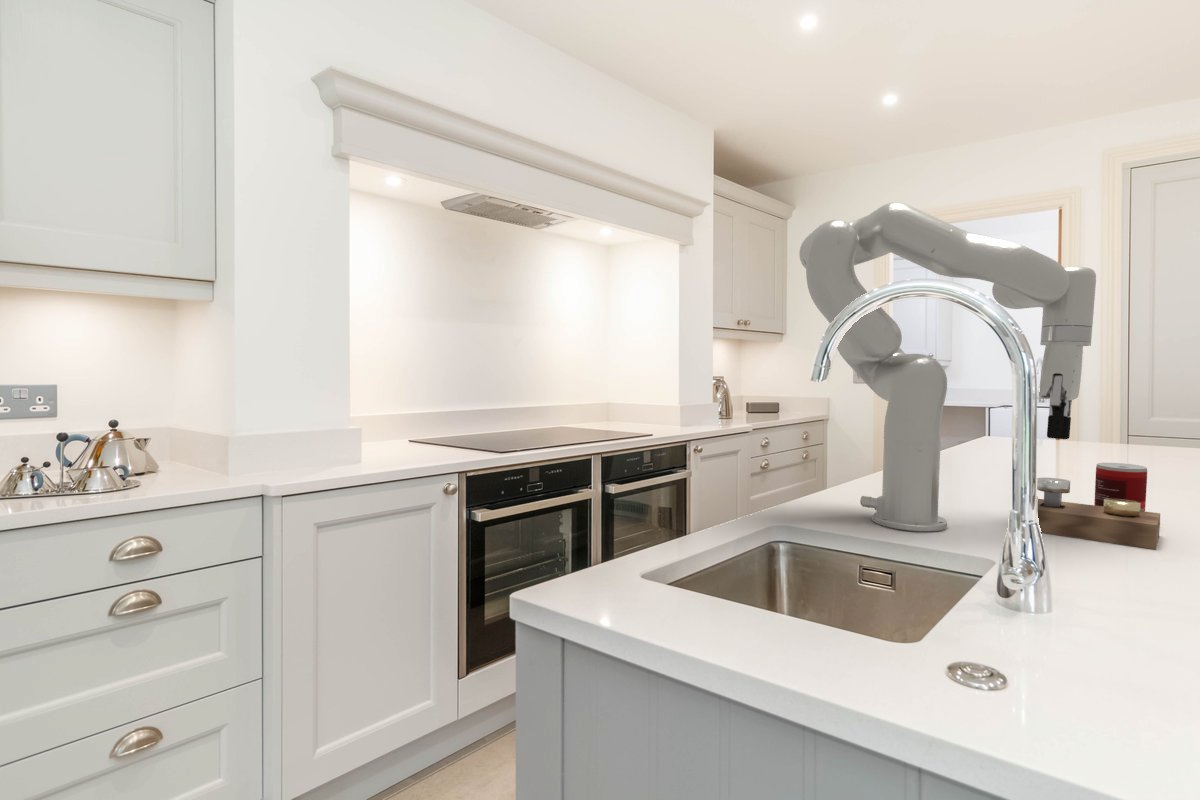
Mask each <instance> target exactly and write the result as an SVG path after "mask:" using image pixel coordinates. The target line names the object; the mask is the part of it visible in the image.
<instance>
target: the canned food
mask: <svg viewBox="0 0 1200 800" xmlns="http://www.w3.org/2000/svg"><path fill="white" fill-rule="evenodd" d="M1094 483H1095V484H1094V485H1095V486H1094V503H1093V505H1095V506H1103V507H1104V499H1108V498H1113V499H1125V500H1132V501H1136V502H1139V503H1140V511H1145V512H1146V504H1147V503H1146V501H1147V486H1148V485H1147V484H1148V467H1147V466H1143V465H1139V464H1132V463H1123V462H1122V463H1121V462H1098V463H1096V467H1095V482H1094Z"/></svg>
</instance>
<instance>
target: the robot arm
mask: <svg viewBox="0 0 1200 800" xmlns="http://www.w3.org/2000/svg"><path fill="white" fill-rule="evenodd" d="M891 253H892V255H893V254H894V255H896V256H898V257H900V258H903V259H905V260H906V261H910V262H911V263H913V264H916V265H918V266H919V267H921V268H923V269H926V270H929V271H930V272H932V273H934V274H937V275H939V276H943V277H950V278H956V279H957V278H959V279H974V280H981V281H984V282H985V281H986V282H988V283H993V285H992V289H991V290H992V291H991V292H992V296H993V299H994V300H995V301H996V302H997V303H998V304H999V305H1000V306H1003V308H1004V307H1005V308H1007V309H1012V310H1022V309H1032V308H1033V309H1034V308H1041V309H1042V320H1041V332H1040V333H1041V334H1040V346H1045V347H1044V351H1043V352H1044V353H1043V357H1042V364H1041V370H1040V371H1041V372H1040V381H1039V388H1040V392H1039V391H1038V397H1039V398H1041V399H1044V400H1046V399H1049V406H1048V407H1049V408H1048V410H1049V411H1048V412H1049V413H1048V416H1047V417H1048V418H1047V427H1046V428H1047V429H1046V437H1047V439H1058V440H1068V439H1070V436H1071V425H1072V423H1071V422H1072V417H1071V412H1072V403H1073V401H1074V400H1076V399H1078V397H1079V394H1080V388H1081V381H1082V379H1081V377H1082V370H1083V369H1082V368H1083V354H1084V352H1083V351H1084V350H1083V349H1084V347H1090V346H1092V336H1093V335H1092V334H1093V324H1094V323H1093V322H1094V313H1095V312H1094V311H1095V300H1096V299H1095V298H1096V297H1095V296H1096V288H1097V287H1096V285H1097V284H1096V283H1097V273H1096V272H1095V270H1094V269H1092V268H1090V267H1085V266H1081V267H1080V266H1069V267H1068V266H1067V267H1064V266H1063V265H1062V264H1060V263H1059V262H1058V261H1057V260H1055V259H1053V258H1051V257H1049V256H1047V255H1046V254H1045V255H1044V254H1042V253H1041V252H1039V251H1036V250H1034V249H1033V248H1030V247H1027V246H1024V245H1022V244H1018V243H1015V242H1012V241H1008V240H1003V239H1000V238H995V237H990V236H987V235H983V234H979V233H974V232H969V231H967V230H964V229H961V227H960V228H959V227H957V226H956V225H953V224H951V223H949V222H946V221H944V220H942V219H940V218H937V217H935V216H933V215H931V214H929V213H927V212H924V211H922V210H920V209H918V208H915V207H913V206H911V205H908V204H906V203H903V202H899V201H894V202H888V203H885V204H883V205H882V206H879V207H878V208H877V209H875V210H874V211H873V212H871V213H869V214H867V215H866V216H863V217H861V218H857V219H856V220H853V221H850V222H847V221H844V220H842V219H832V220H828V221H826V222H823V223H822V224H820V225H819V226H818V227H816V228H815V229H813V231H812V232H811V233H809V234H808V236H806V237H805V239H804V240H803V241H802V243H801V245H800V248H799V255H798V256H799V260H800V262H801V265H802V266H803V267H804V269H805V270H806V271H805V274H806V276H805V277H806V284H807V289H808V293H809V296H810V298H811V300H812V302H813V304H814V305H815V306H816V308H817V309H818V311H819V312H820V313H821V315H822V316H823V317H824V318H825V319H826V320H827V321H828V323H829V324H830V323H831V322H832V321H833V320H834V318H835V317H836V316H837V315H838V314H839V313H840V312H841V311H842V310H843V309H844V308H845V307H846V306H847V305H849V304H850V303H851V302H852V301H854V300H855V299H856V298H858V297H860V296H861V295H863V294H865V293H867V292H868V291H867V290H866V288H865V287H864V286H863V285H862V284H861V282H860V281H859V279H858V276H857V275H856V271H855V266H857V265H861V264H864V263H867V262H869V261H873V260H875V259H878V258H882V257H883V256H886V255H888V254H891ZM902 339H903V337H902V332H901V329H900V327H899V325H898V324H897V322H896V321H895V320H894V319H893V318H892V317H891V316H890V315H889V314H888V313H887V312H886V311H885V309H883V308H882V307H880V308H878V309H876V310H874V311H872V312H870V313H868V314H866V315H864V316H863V317H861V318H860V319H859V320H858V321H857V322H855V323H854V324H853V325H852V327H851V328H850V329H849V330H848V331H847V332H846V333H845V335H844V336H843V338H842V340H841V341H840V343H839V345H838V347H836V349H837V351H838V352H839V355H840V356H841V357H842V358H843V360H844V361H845V363H846V364H847V365H848V366H849V367H850V368H851V369H852V370H853V371H854V372H855V373H856V374H857V376H859V378H860V379H861V380H862V381H863V382H864V383H865V384H866V385H867V386H868V387H869V389H870V390H871V391H873V393H874V394H876V395H877V396H878V397H879V398H880V399H882V400H884V401H886V402H887V403H888V404H887V407H886V411H885V416H884V425H883V456H882V457H883V459H882V460H883V461H882V462H883V463H882V464H883V465H882V489H881V490H882V491H881V495H880V496H877V497H872V496H869V495H868V496H867V495H861V497H860V500H859V501H860V502H859V504H860V505H861V506H862V508H871V509H873V510H875V511H876V512H874V513H872V521H873V522H874V523H876V524H878V525H880V526H883V527H887V528H891V529H895V530H903V531H912V532H913V531H914V532H937V531H938V532H939V531H943V530H945V529H947V528H948V521H947V520H946V519H944V518H943V517H941V516H938V515H939V492H940V465H941V463H940V462H941V436H942V430H941V429H942V419H943V412H944V411H943V410H944V406H945V401H946V396H947V390H948V378H947V374H946V371H945V369H944V367H943V366H942V365H941V363H940V362H939V361H938V360H936V359H935V358H933V357H932V356H930V355H926V354H923V353H906V352H904V351H903V349H902V348H901V345H902Z"/></svg>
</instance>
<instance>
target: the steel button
mask: <svg viewBox="0 0 1200 800" xmlns="http://www.w3.org/2000/svg"><path fill="white" fill-rule="evenodd" d="M1036 490H1037V491H1040V492H1043V499H1044V507H1052V508H1060V509H1061V503H1062V502H1063V501H1062V500H1063V498H1062V496H1063V494H1070V492H1071V481H1070V480H1068V479H1064V478H1063V479H1062V478H1057V477H1038V478H1037V480H1036Z"/></svg>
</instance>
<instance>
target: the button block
mask: <svg viewBox="0 0 1200 800" xmlns="http://www.w3.org/2000/svg"><path fill="white" fill-rule="evenodd" d="M1037 499H1038V518H1039V525H1040V528H1041V531H1042V534H1049V535H1055V536H1062V537H1068V538H1075V539H1080V540H1081V539H1083V540H1089V541H1095V542H1102V543H1109V544H1117V545H1122V546H1123V545H1124V546H1129V547H1136V548H1141V549H1142V548H1143V549H1150V550H1156V549H1157V546H1158V542H1159V538H1160V528H1161V527H1160V526H1161V513H1160V512H1153V511H1146V510H1145V511H1140V515H1139V516H1131V517H1124V516H1116V515H1112V514H1111V513H1107V512H1104V511H1103V509H1104V507H1103V506H1095V505H1094V504H1087V503H1085V504H1084V503H1079V502H1078V503H1076V502H1070V501H1069V502H1068V501H1062V503H1061V509H1060V508H1052V507H1044V498H1037Z"/></svg>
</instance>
